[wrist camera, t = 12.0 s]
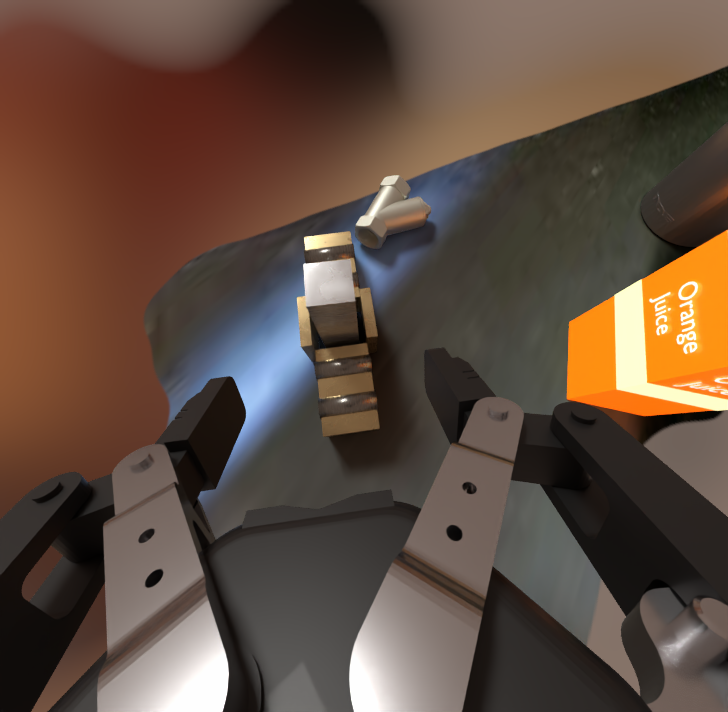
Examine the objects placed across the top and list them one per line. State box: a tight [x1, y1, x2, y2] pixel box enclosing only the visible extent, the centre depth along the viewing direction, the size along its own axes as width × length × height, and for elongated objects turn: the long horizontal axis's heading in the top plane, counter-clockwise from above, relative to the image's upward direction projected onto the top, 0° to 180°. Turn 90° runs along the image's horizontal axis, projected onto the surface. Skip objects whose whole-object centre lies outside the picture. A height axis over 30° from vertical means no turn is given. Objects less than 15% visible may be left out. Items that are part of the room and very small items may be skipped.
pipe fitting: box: [355, 176, 431, 249], centre depth 33 cm, size 8×4×7 cm
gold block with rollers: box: [297, 231, 380, 437], centre depth 28 cm, size 7×21×5 cm, turn 8°
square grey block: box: [303, 259, 360, 349], centre depth 26 cm, size 4×4×11 cm
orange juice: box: [567, 230, 728, 416], centre depth 20 cm, size 8×9×20 cm
